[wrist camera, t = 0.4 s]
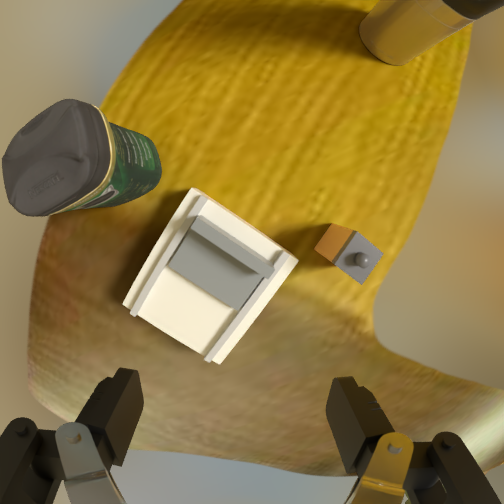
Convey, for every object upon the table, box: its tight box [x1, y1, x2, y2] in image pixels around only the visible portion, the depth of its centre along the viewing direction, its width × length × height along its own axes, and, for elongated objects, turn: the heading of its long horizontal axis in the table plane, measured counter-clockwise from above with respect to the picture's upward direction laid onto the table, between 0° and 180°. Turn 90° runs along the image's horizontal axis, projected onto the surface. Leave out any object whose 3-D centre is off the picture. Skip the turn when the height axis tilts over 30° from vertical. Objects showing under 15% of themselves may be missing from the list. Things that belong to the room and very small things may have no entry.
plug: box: [314, 223, 383, 285], centre depth 31 cm, size 4×4×9 cm
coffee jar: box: [2, 99, 162, 216], centre depth 23 cm, size 10×8×19 cm
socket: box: [123, 188, 299, 364], centre depth 33 cm, size 16×14×5 cm
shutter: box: [168, 215, 275, 311], centre depth 29 cm, size 6×9×3 cm
